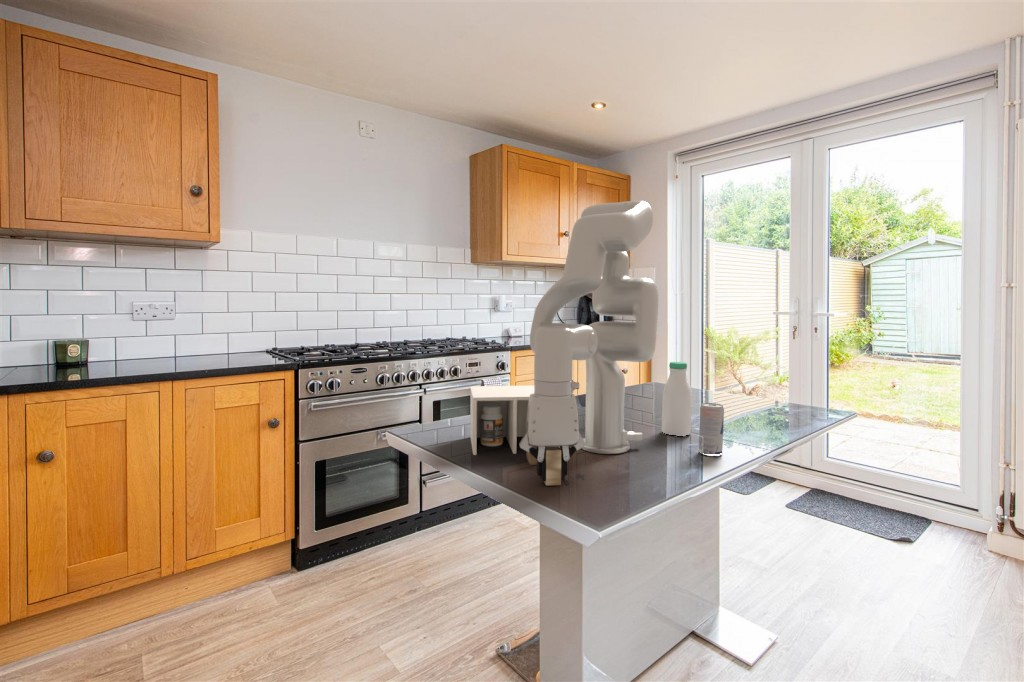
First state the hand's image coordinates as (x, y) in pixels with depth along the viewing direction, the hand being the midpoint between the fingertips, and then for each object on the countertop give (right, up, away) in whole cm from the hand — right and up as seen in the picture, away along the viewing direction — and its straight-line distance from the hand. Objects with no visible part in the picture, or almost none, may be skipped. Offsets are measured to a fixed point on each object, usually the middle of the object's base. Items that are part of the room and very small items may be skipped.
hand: (551, 478), depth 104 cm
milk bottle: (+38, +2, +40) cm, 55 cm away
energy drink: (+40, 0, +21) cm, 45 cm away
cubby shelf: (-8, +1, +28) cm, 29 cm away
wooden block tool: (-1, 0, +8) cm, 8 cm away
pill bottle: (-13, +1, +29) cm, 31 cm away
